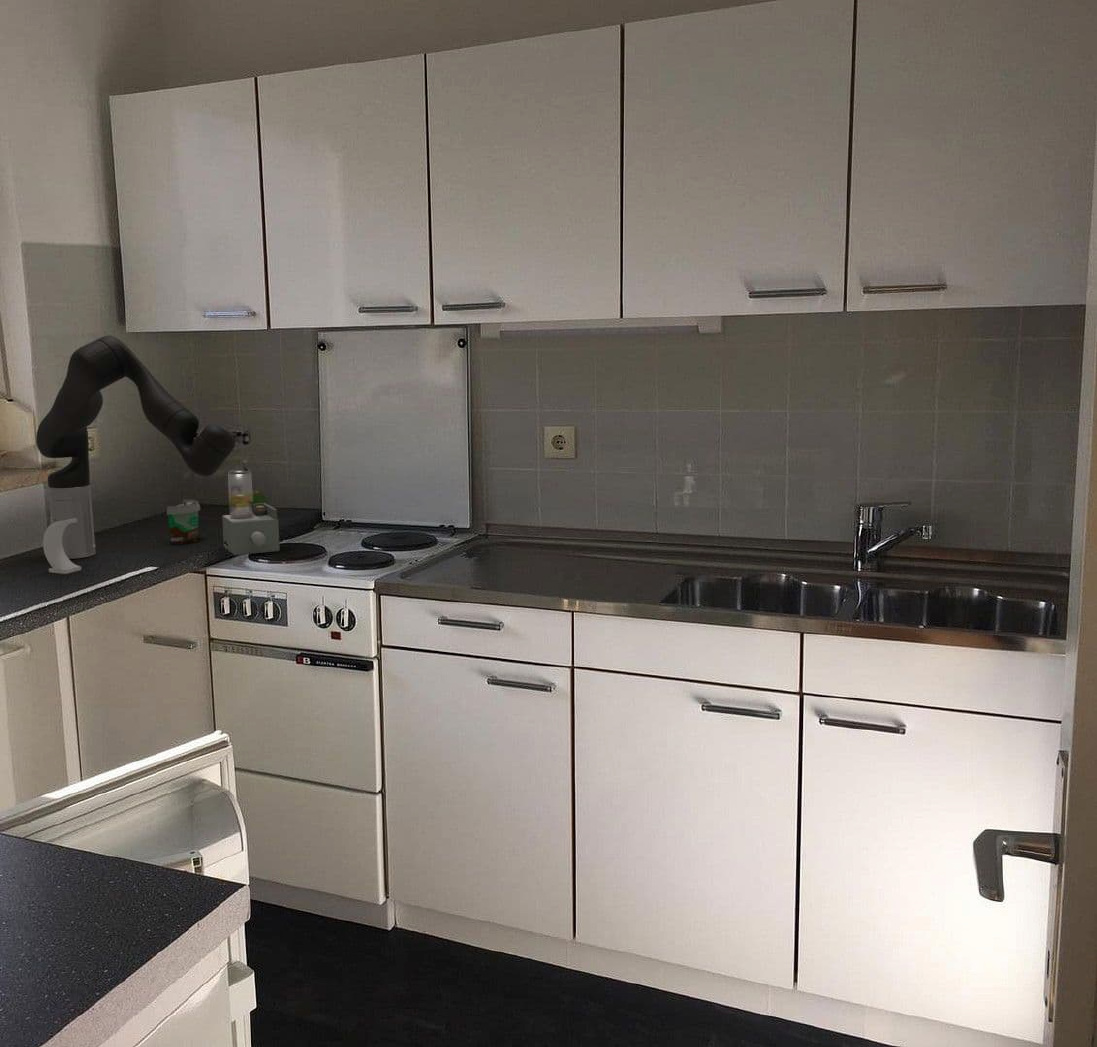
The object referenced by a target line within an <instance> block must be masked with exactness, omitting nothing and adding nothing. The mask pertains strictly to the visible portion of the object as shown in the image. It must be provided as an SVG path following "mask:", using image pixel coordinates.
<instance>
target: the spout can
mask: <svg viewBox="0 0 1097 1047" xmlns="http://www.w3.org/2000/svg"><path fill="white" fill-rule="evenodd" d="M252 478H253V477H252V472H251V470H250V469H249V462H248V460H242V469H233V470H228V473H227V480H228V483H227V484H228V486H227V487H228V504H229V505H228V506H229V515H230V518H231V519H248V518H253V517H254V515H253V493H252V491H253V482H252V481H253V480H252Z"/></svg>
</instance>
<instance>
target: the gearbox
mask: <svg viewBox="0 0 1097 1047" xmlns="http://www.w3.org/2000/svg"><path fill="white" fill-rule="evenodd" d="M253 515H254V517H253V518H248V519H231V518H230V514H228V515H227V514H225V515H224V514H223V515H221V520H222V538H223V539H222V540H223V542H224V541H226V542H227V544H228V546H227V545H226V544H224V543H223V548H225V549H226V550H227V551H228V552H230V553H231V554H232V555H234V556H243V555H252V554H261V553H263V554H264V553H270V552H273V553H274V552H280V550H281V549H280V533H279V532H280V531H279V518H278V509H277V508H275V507H273V506H272V505H271V504H270V505H268V504H266V503H259V504H253Z"/></svg>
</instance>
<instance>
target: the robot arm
mask: <svg viewBox="0 0 1097 1047" xmlns="http://www.w3.org/2000/svg"><path fill="white" fill-rule="evenodd" d="M123 378H127V379H129V380H130V381H132V382H133V383H134V384H135V386H136V387H137V390H138V394H139V395H138V396H139V399H140V404H141V409H142V411H143V414H144V416H145V418H146V420H147V421H148V422H149V423H150V424H151V425H152V426H153V427H154V428H156V430H158V431H159V432H160V433H161V434H163V435H164V436H165V437H166V438H167V439H168V440H169V441H170V442H171V443H172V444H173V445H174V447H175V448H176V450H177V452H178V453H179V454H180V456H181V458H182V459H183V461H184V462H185V464H186V466H188V468H189V469H190V470H191V471H192V472H193V473H195V474H196V475H198V476H201V477H211V476H212V475H214V474H215V473H216V472H217V470H218V469H219V468H220V467H221V466H222V464H223V463H224V462H225V461H226V459H227V458H228V457H229V456H230V454H232V452H233V450H234V449H235V447H236V445H238V443H239V444H240V443H241V445H245V446H247V445H249V444H251V431H249V430H245V431H242V430H234V429H230V428H228V427H227V426H226V425H223V424H220V423H210V424H207V425H206V426H204V427H202V429H201V430H199V428H200V421H199V419H198V417H197V416H196V415H195V413H193V412H191V411H190V410H189V409H188V408H186V406H185V405H183V403H181V402H179V400H177V399H176V398H175V397H174V396H172V395H171V394H170V393H169V391H167V390H166V389H165V388H164V386H162V384H161V383H160V382H159V381H158V380H157V379H156V378H155V376H154V375H153V374H152V373H151V371H150V370H149V369H148V368H147V367H146V366H145V365H144V364H143V363H142V361H141V360H140V359H139V358H138V357H137V355H136V354H134V352H133V351H132V350H131V349H130V348H129V347H128V346H127V345H126V344H125V343H124V342H123V341H122V340H120V339H118V338H117V337H115V336H114V335H104V336H101V337H99V338H97V339H95V340H93V341H91V342H89V343H87V344H85V345H82V346H80V347H78V348H77V349H76V350H75V351H73V353H72V354H71V356H70V358H69V361H68V366H67V371H66V376H65V378H64V380H63V383H62V386H61V388H59V391H58V392H57V395H56V397H55V399H54V402H53V404H52V407H51V409H50V410H49V412H48V413H47V414H46V415H45V416H44V418H43V419H42V420H41V421H40V423H39V425H38V427H37V431H36V439H35V440H36V446H37V449H38V451H39V453H40V454H41V455H42V456H43V457H45V458H49V459H62V458H63V459H64V458H71V459H70V462H69V463H68V464H67V465H66V466H65V467H63V468H61V469H59V470H57V471H53V472H51V473H50V474H49V475H48V476H47V487H48V498H49V509H50V510H49V512H50V517H49V519H50V525H51V524H52V523H54V522H58V521H63V520H68V519H73V518H77V522H74V523H70V524H69V525H67V526H66V528H65V529H64V532H63V535H62V545H63V549H64V552H65V554H66V556H67V557H68V559H69V560H71V559H72V560H73V559H82V558H88V557H92V556H95V555H96V541H95V540H96V539H95V529H94V528H95V526H94V518H93V517H94V516H93V502H92V492H91V491H92V490H91V481H90V479H91V476H90V473H91V472H90V459H89V458H90V455H89V449H90V448H89V432H88V427H89V426H90V425H91V424H92V423H93V422H94V421H95V420H96V419H97V417H98V416H99V413H100V412H101V410H102V407H103V404H104V399H103V394H102V392H101V391H102V390H103V389H105V388H107V387H109V386H111V385H112V384H115V383H116V382H118V381H119V380H121V379H123Z"/></svg>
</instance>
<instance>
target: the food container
mask: <svg viewBox="0 0 1097 1047" xmlns="http://www.w3.org/2000/svg"><path fill="white" fill-rule="evenodd" d="M199 511H201V506H200V503H199V501H198V500H195V499H182V503H181V504H175V505H173V506H172V505H171V506H169V505H168V506H166V515H167V517H168V528H169V535H170V543H171V544H170V545H181V544H182V543H184V544H188V543H187V542H191V541H194V540H197V539H198V540H199ZM197 535H198V536H197ZM194 536H197V537H195V538H191V539H186V538H190V537H194ZM180 539H185V540H180ZM198 540H197V541H198ZM191 543H192V542H191ZM182 545H183V544H182Z"/></svg>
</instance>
